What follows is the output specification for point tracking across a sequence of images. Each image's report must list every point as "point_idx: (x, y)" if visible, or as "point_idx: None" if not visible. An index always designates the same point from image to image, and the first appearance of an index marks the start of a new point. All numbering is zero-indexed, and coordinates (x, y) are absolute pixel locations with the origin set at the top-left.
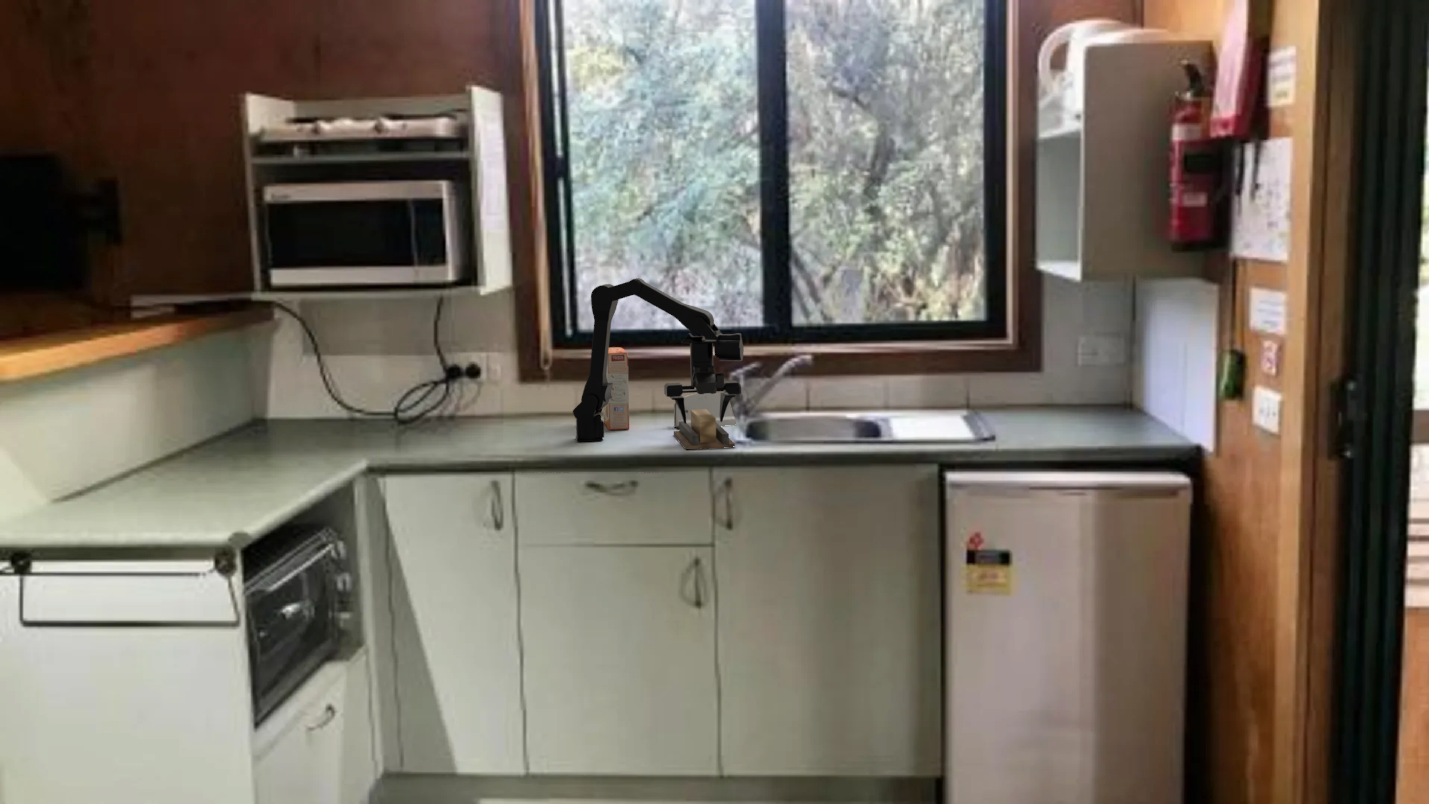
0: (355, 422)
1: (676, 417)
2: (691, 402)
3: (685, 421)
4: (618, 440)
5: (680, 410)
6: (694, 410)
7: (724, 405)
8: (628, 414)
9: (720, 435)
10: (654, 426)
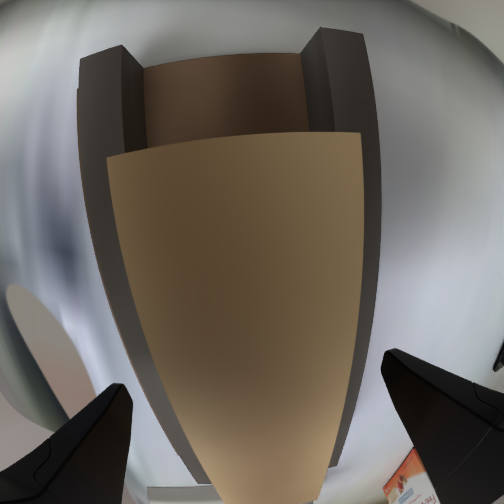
0: None
1: (311, 502)
2: None
3: (397, 354)
4: (490, 335)
5: (477, 387)
6: (301, 496)
7: (42, 463)
8: (426, 472)
9: (132, 141)
10: (348, 481)
